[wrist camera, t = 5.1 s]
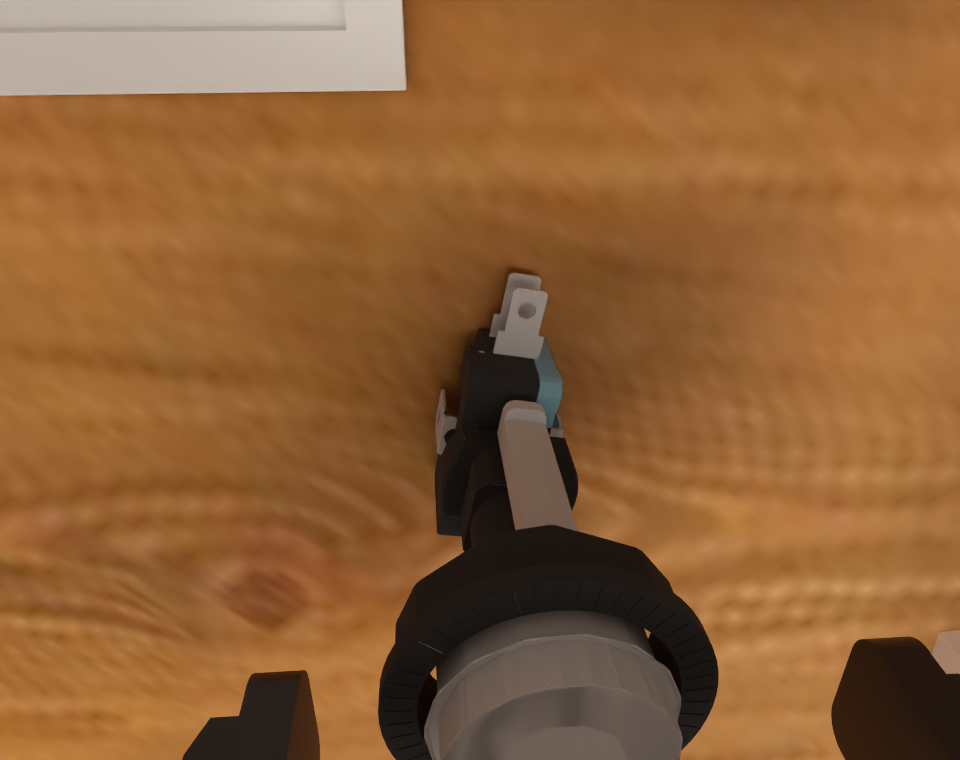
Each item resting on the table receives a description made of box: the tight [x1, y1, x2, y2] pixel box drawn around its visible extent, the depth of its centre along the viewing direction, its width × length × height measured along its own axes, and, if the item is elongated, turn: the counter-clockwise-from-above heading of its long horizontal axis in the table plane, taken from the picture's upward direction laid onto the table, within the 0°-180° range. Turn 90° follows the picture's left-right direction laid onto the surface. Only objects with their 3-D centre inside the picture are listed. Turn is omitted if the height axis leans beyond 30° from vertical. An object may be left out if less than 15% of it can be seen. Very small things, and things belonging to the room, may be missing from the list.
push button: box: [378, 272, 718, 760], centre depth 14 cm, size 7×5×10 cm
